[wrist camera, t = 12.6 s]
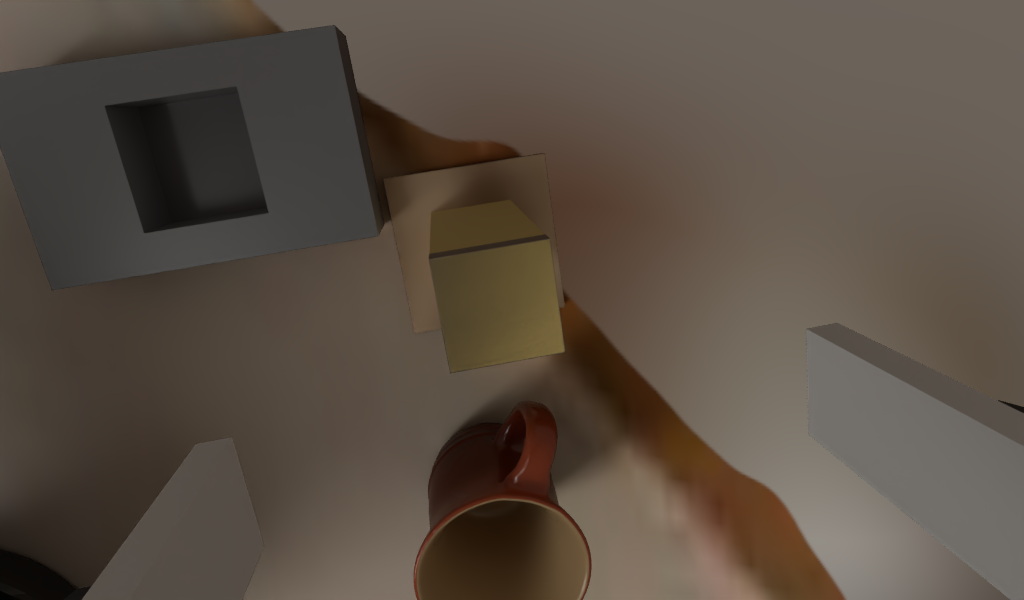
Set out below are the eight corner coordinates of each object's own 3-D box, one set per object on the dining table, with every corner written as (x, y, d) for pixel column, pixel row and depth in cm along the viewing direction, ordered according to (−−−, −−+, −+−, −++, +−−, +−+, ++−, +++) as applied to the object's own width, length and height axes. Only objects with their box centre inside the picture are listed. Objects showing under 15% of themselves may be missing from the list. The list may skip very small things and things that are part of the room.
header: (93, 272, 35) (51, 290, 32) (28, 82, 33) (-26, 76, 29) (384, 224, 37) (378, 235, 33) (345, 36, 34) (334, 25, 30)
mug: (531, 539, 43) (559, 662, 33) (402, 513, 42) (392, 634, 32) (589, 376, 41) (638, 458, 31) (454, 342, 39) (461, 416, 29)
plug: (444, 290, 37) (450, 373, 25) (430, 212, 36) (428, 259, 24) (522, 276, 38) (565, 352, 25) (510, 199, 36) (550, 238, 24)
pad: (414, 330, 38) (414, 333, 38) (384, 178, 36) (383, 179, 35) (563, 304, 39) (564, 306, 39) (542, 153, 37) (544, 153, 36)
